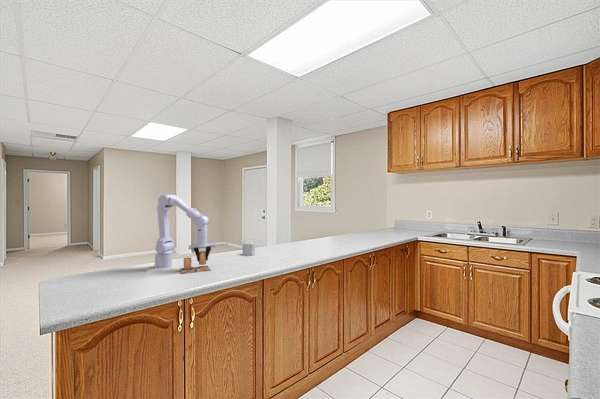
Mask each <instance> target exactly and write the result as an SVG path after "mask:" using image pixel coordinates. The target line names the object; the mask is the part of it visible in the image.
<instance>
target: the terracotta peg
mask: <svg viewBox="0 0 600 399" xmlns="http://www.w3.org/2000/svg"><path fill="white" fill-rule="evenodd" d="M206 264H207V261H206V250H202V251H201V250H199V261H198V266H205V265H206Z"/></svg>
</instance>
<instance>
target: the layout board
mask: <svg viewBox="0 0 600 399" xmlns="http://www.w3.org/2000/svg"><path fill="white" fill-rule="evenodd" d="M211 271H212V269H211V267H210V266H209V264H208V265H206V264H204V265H196V266H191V270H185V271H184V267H180V268H179V274H180V275H187V274H195V273H202V272H211Z"/></svg>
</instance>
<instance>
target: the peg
mask: <svg viewBox="0 0 600 399" xmlns="http://www.w3.org/2000/svg"><path fill="white" fill-rule="evenodd" d="M191 267H192V257H184V258H183V268H184V271H185V270H191Z"/></svg>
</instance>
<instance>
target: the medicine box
mask: <svg viewBox="0 0 600 399" xmlns="http://www.w3.org/2000/svg"><path fill="white" fill-rule="evenodd" d="M255 244H256V243H255V242H243V243H242V245H241V246H242V256H250V257H252V256H255V255H256V251H255V250H256V248H255V247H256V246H255Z"/></svg>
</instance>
